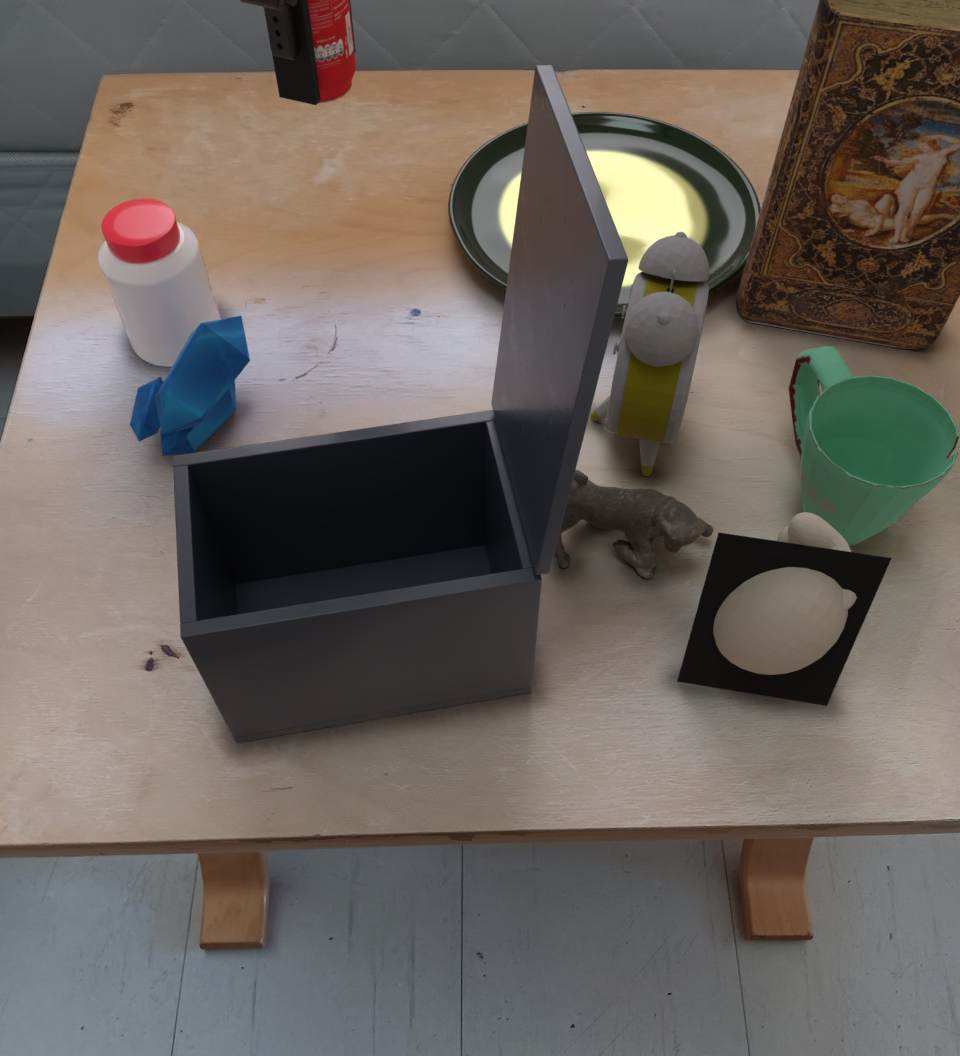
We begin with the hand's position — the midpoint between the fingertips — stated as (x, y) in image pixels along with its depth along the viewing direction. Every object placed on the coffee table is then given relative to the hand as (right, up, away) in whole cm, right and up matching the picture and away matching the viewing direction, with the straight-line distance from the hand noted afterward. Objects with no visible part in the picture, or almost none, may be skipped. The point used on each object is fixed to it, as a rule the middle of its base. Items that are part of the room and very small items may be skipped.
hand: (318, 73), depth 68 cm
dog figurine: (+22, -32, +5) cm, 39 cm away
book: (+41, -11, +17) cm, 46 cm away
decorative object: (+30, -39, +1) cm, 49 cm away
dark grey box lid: (+14, -25, -19) cm, 34 cm away
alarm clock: (+23, -22, +11) cm, 34 cm away
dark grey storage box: (+4, -39, +1) cm, 39 cm away
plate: (+22, -1, +23) cm, 32 cm away
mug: (+37, -28, +7) cm, 47 cm away
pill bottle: (-14, -13, +16) cm, 25 cm away
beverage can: (0, 0, +1) cm, 1 cm away
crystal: (-11, -22, +11) cm, 27 cm away
